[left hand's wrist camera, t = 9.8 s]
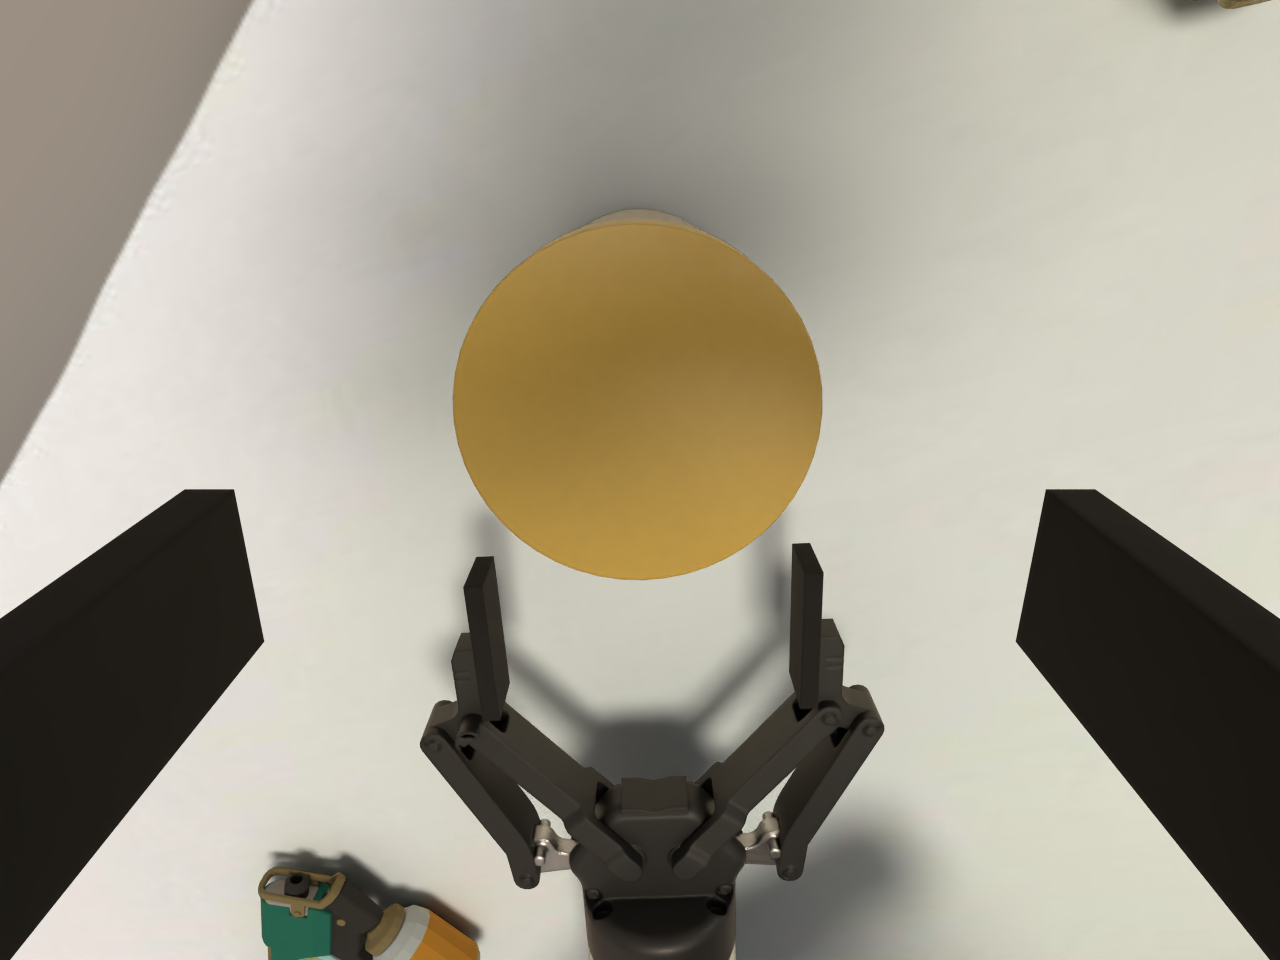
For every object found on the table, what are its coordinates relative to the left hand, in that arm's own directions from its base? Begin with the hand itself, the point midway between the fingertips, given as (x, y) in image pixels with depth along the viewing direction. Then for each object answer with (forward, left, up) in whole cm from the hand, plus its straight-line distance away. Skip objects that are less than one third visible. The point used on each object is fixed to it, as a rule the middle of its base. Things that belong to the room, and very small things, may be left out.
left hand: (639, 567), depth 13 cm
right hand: (+7, +6, -18) cm, 20 cm away
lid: (0, 0, -9) cm, 9 cm away
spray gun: (+43, +10, -25) cm, 51 cm away
